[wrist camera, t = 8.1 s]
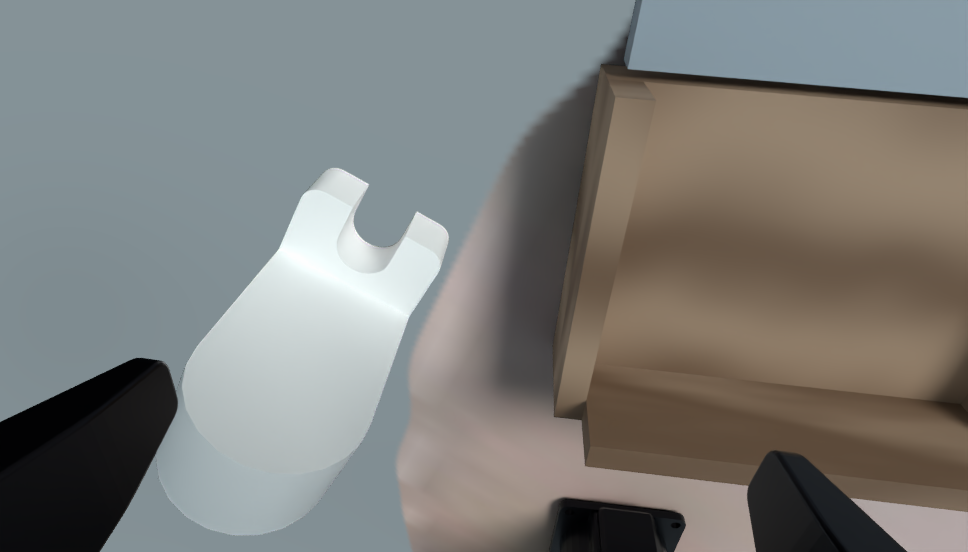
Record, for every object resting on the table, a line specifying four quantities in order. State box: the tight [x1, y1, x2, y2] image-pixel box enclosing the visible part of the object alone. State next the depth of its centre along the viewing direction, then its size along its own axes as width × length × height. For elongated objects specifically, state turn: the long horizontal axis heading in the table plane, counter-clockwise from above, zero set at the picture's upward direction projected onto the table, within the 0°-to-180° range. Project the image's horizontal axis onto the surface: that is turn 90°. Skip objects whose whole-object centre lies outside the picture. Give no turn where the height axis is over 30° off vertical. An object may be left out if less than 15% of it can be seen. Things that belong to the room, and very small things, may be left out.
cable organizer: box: [156, 168, 449, 536], centre depth 18 cm, size 5×10×10 cm, turn 149°
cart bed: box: [553, 64, 968, 512], centre depth 17 cm, size 11×16×6 cm
